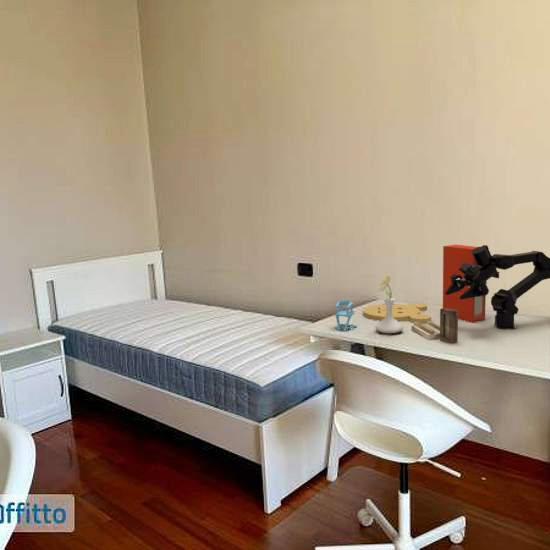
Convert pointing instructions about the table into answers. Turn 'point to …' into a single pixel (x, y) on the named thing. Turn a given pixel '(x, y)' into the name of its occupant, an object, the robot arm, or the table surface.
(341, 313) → the chair
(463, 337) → the table surface
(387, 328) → the flower in vase
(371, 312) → the decorative plaque
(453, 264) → the file binder
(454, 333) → the walnut photo frame
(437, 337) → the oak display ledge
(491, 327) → the table surface
